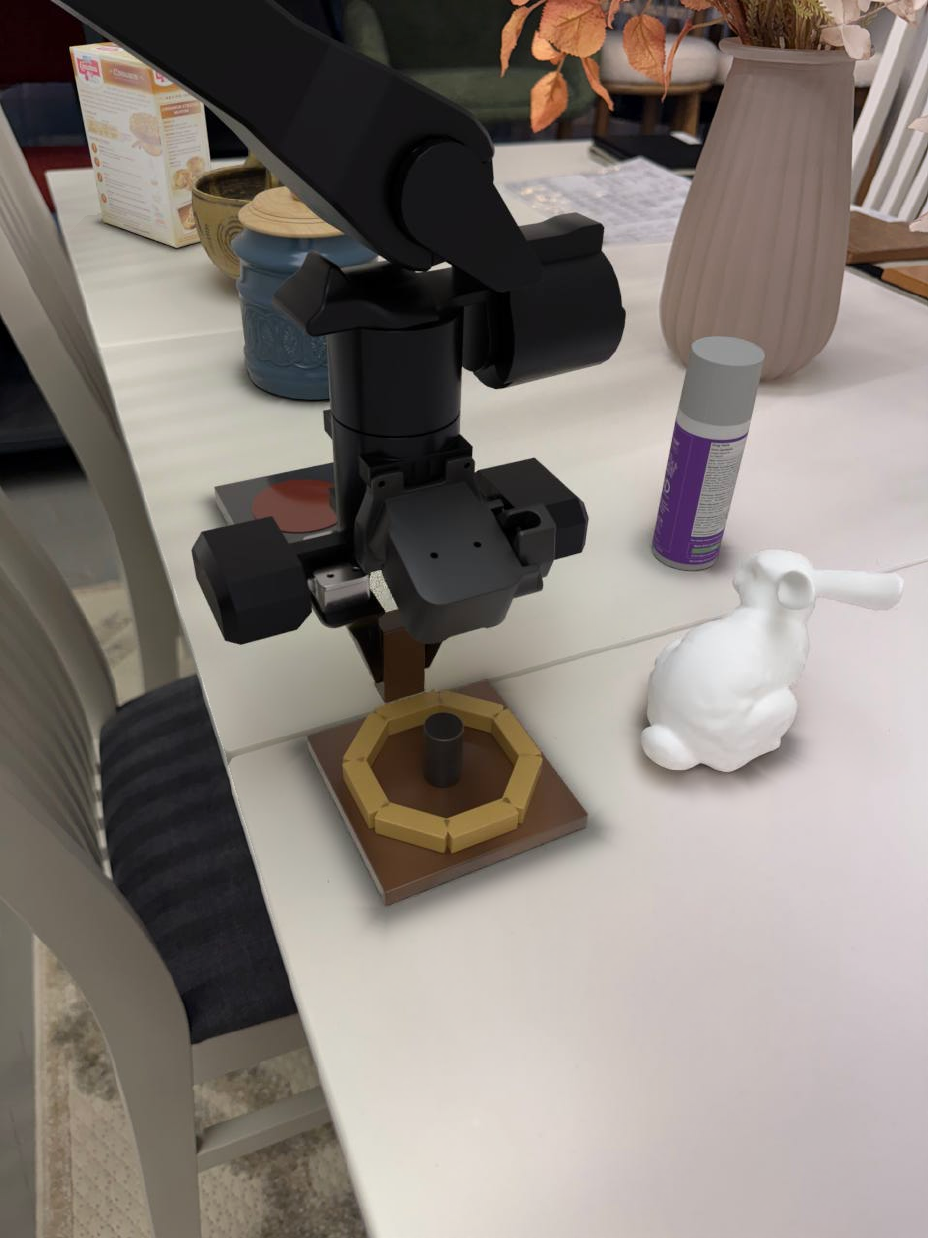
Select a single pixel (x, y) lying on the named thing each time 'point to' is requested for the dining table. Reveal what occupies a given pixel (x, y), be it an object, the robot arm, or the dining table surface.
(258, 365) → the canister
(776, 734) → the rabbit
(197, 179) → the ceramic bowl
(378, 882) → the brown peg base
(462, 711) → the ring
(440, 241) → the robot arm
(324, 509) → the stove
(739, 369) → the container
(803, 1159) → the dining table surface
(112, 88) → the coffeecake box
